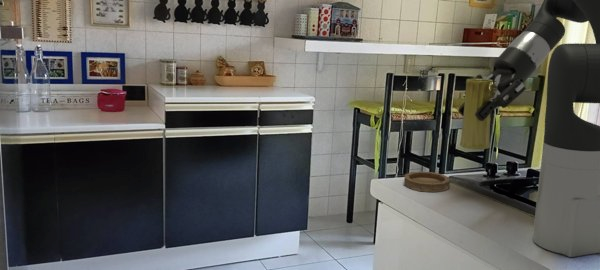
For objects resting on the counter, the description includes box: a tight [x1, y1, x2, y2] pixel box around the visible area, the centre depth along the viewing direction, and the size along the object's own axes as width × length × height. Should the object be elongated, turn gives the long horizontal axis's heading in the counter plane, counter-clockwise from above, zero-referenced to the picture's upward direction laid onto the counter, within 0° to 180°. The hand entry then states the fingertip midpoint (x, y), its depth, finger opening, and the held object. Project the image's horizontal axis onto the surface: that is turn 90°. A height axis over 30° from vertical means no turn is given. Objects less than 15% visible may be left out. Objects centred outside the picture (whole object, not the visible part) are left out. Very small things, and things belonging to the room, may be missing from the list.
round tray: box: [403, 170, 451, 193], centre depth 115 cm, size 10×10×2 cm
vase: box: [459, 78, 493, 150], centre depth 106 cm, size 6×6×14 cm
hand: (469, 115), depth 105 cm, fingers closed on vase, 5 cm apart
